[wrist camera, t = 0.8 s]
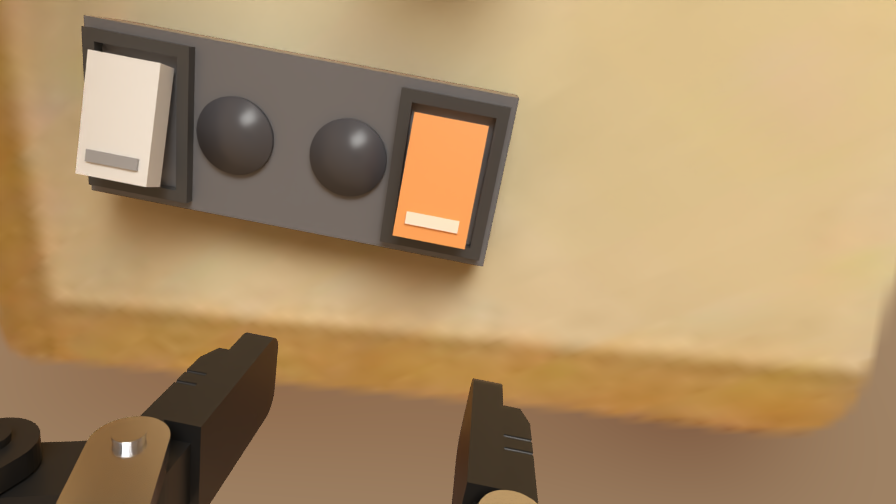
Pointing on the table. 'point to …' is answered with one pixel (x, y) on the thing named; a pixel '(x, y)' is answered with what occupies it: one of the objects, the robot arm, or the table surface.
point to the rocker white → (124, 119)
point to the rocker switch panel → (300, 136)
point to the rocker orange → (440, 180)
